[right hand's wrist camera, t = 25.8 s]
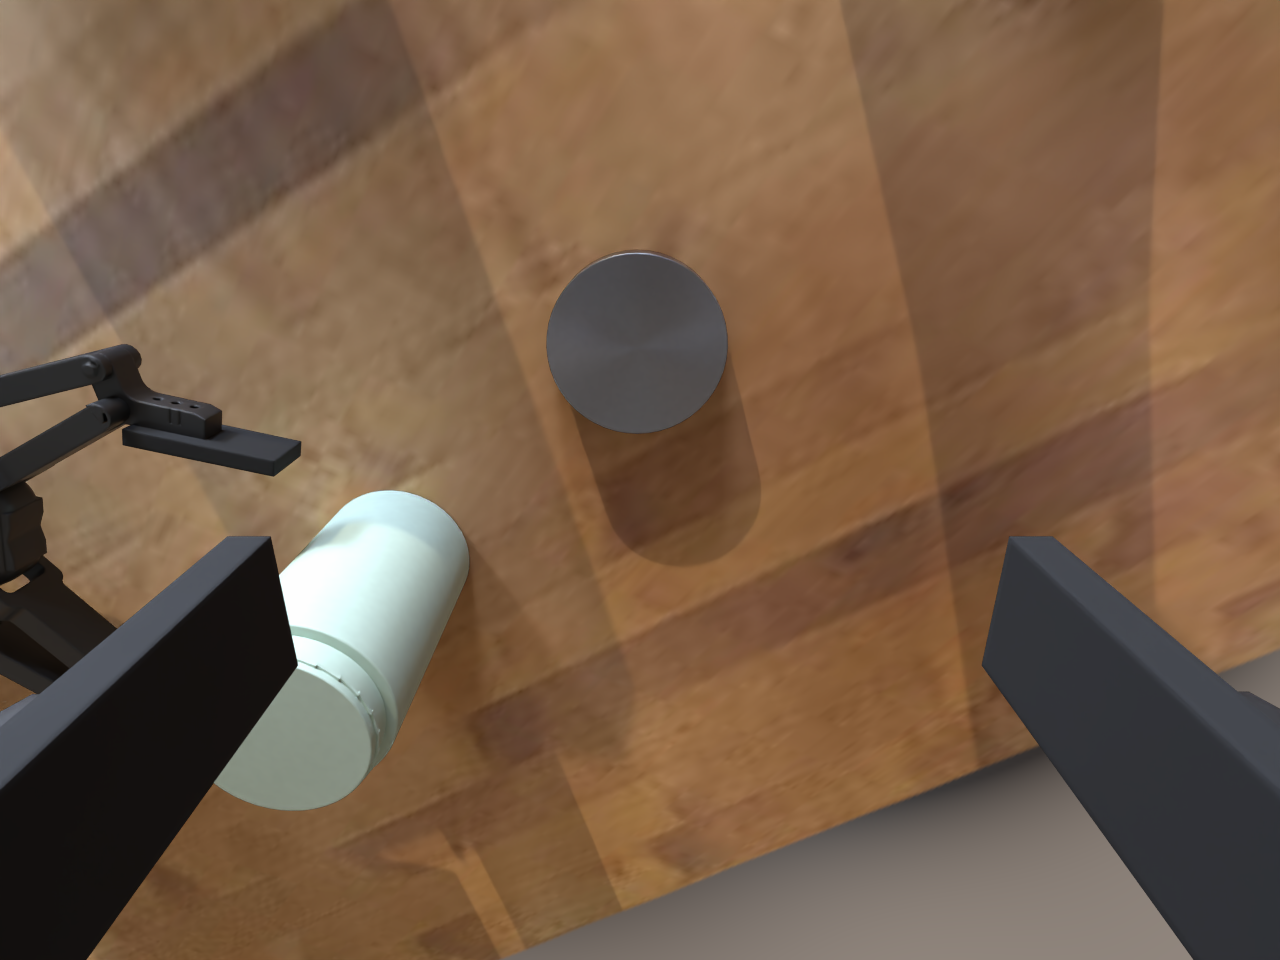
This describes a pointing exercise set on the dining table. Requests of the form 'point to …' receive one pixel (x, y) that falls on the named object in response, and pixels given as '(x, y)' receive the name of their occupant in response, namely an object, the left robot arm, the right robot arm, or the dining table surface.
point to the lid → (637, 342)
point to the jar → (352, 649)
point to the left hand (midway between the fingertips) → (282, 584)
